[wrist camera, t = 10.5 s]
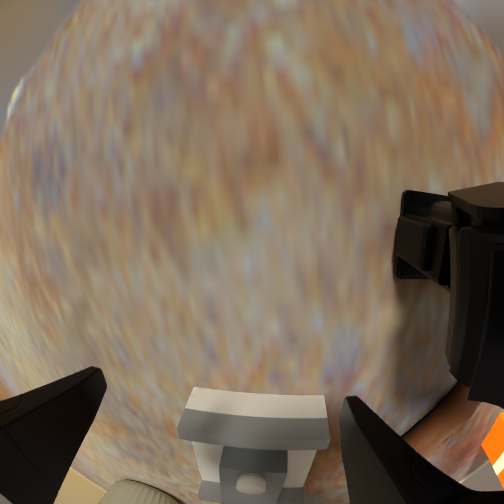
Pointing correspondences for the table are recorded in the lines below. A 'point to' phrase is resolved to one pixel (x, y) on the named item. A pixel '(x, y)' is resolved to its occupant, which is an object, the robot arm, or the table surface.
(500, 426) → the orange juice
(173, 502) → the canister
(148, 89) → the table surface
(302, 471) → the stand
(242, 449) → the grey knobbed block
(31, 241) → the table surface
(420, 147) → the table surface
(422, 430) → the sunglasses case
